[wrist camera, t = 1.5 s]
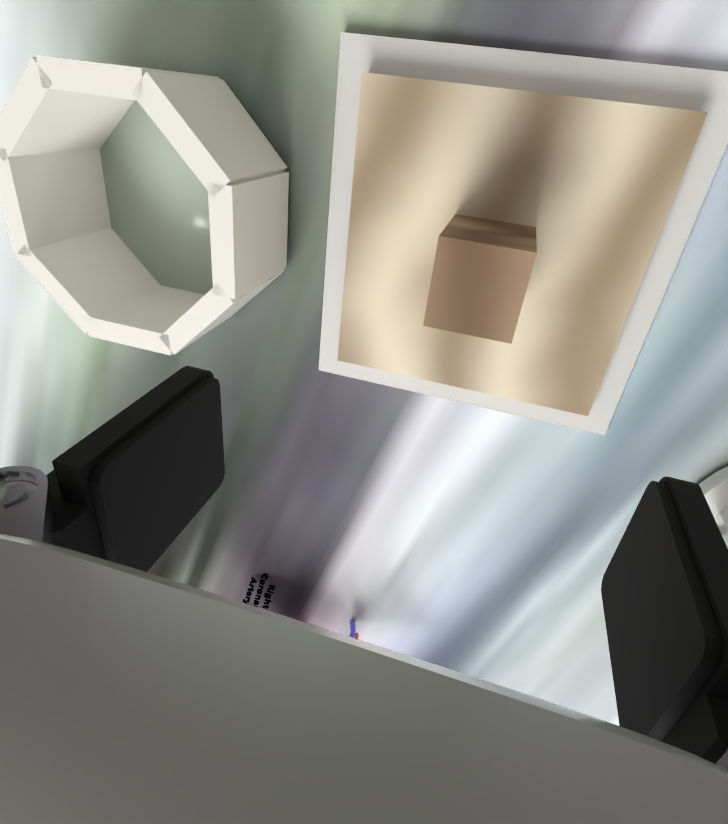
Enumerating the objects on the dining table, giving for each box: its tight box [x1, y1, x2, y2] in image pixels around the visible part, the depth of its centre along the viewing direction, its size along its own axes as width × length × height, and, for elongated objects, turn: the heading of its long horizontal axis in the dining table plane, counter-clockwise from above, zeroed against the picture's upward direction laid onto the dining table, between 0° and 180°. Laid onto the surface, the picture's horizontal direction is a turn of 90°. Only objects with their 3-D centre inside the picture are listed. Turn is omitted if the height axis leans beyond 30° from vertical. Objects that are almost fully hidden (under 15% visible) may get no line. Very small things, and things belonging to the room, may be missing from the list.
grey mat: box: [319, 32, 728, 435], centre depth 28 cm, size 18×18×1 cm
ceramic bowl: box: [0, 55, 289, 355], centre depth 28 cm, size 13×13×7 cm
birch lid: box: [337, 72, 708, 416], centre depth 25 cm, size 15×15×6 cm
